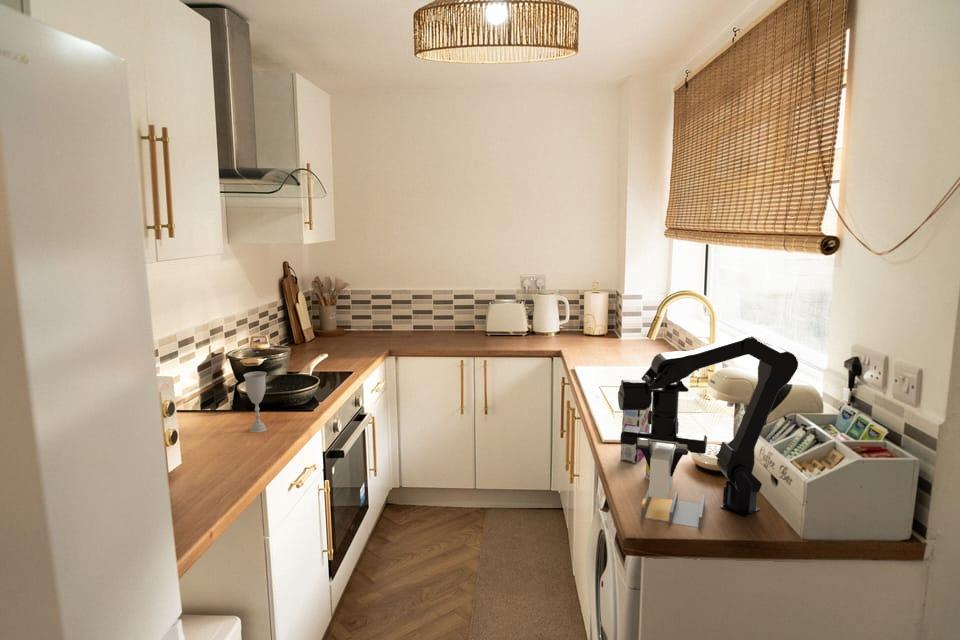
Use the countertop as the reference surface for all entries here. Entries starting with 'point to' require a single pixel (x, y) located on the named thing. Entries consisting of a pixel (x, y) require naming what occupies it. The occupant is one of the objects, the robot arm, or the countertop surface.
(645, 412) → the candy bar box
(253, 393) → the chalice
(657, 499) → the slot rack
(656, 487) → the white rectangular box
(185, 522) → the countertop surface
